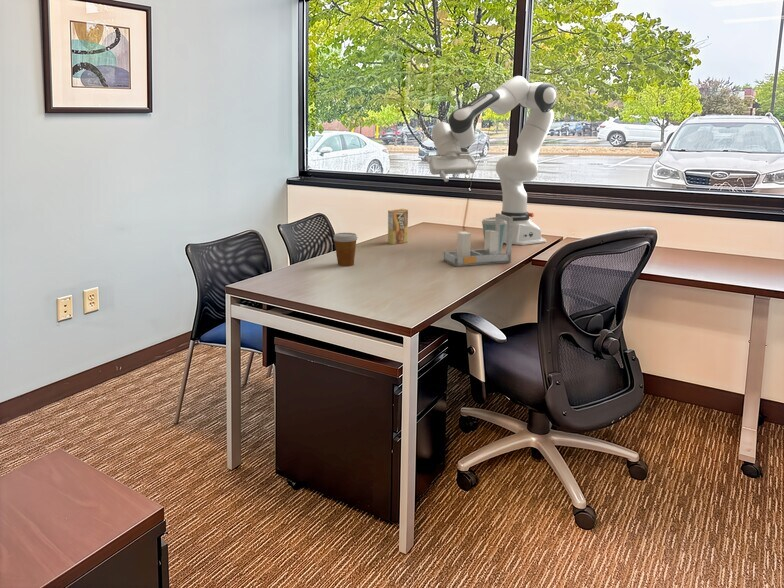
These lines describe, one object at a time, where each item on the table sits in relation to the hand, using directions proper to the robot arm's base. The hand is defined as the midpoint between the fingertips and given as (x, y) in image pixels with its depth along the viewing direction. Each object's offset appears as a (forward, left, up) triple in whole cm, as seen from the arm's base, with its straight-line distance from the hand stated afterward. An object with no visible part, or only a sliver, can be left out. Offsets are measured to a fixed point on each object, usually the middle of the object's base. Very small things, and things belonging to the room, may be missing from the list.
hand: (457, 180), depth 264 cm
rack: (-2, +17, -31) cm, 35 cm away
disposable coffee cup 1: (+50, +7, -31) cm, 59 cm away
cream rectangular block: (+4, +17, -30) cm, 35 cm away
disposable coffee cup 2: (-16, +3, -31) cm, 35 cm away
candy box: (+16, -31, -31) cm, 47 cm away
